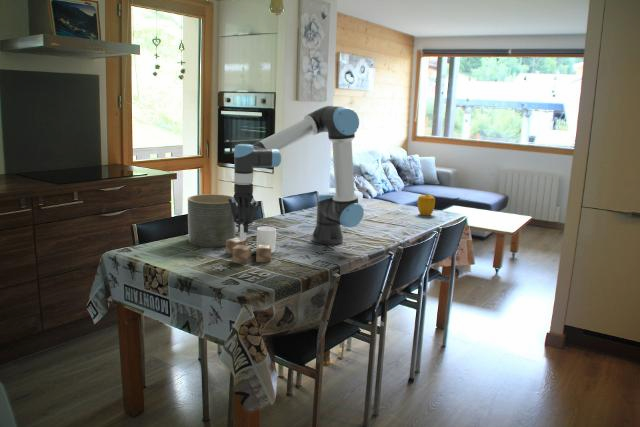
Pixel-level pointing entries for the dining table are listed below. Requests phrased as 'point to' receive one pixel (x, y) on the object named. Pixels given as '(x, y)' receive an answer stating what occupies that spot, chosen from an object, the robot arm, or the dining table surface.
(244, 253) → the plain cube
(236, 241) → the labelled cube a
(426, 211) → the yellow bell pepper
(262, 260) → the labelled cube
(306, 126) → the robot arm
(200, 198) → the planter
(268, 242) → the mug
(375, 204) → the dining table surface
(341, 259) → the dining table surface
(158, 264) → the dining table surface
